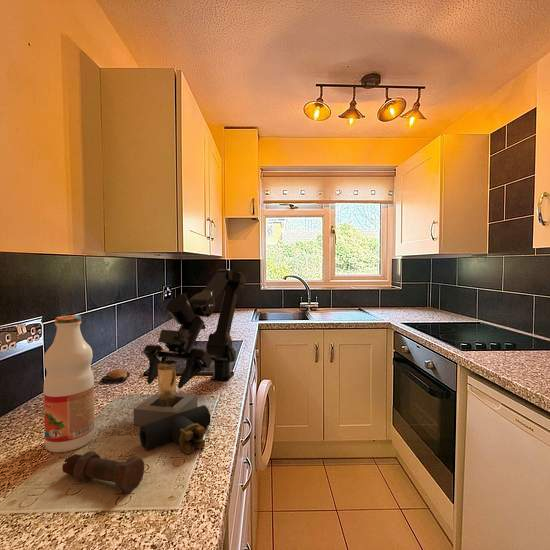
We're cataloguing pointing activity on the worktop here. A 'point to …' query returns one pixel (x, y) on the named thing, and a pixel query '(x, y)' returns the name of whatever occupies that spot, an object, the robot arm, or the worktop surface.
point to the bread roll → (115, 377)
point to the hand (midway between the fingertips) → (163, 385)
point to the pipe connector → (178, 430)
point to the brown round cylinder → (167, 383)
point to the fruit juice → (68, 388)
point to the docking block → (162, 408)
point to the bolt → (106, 470)
